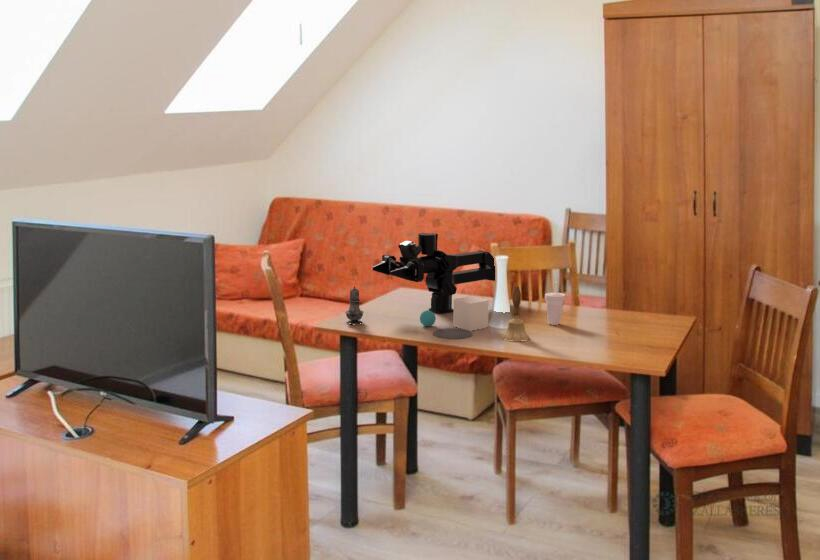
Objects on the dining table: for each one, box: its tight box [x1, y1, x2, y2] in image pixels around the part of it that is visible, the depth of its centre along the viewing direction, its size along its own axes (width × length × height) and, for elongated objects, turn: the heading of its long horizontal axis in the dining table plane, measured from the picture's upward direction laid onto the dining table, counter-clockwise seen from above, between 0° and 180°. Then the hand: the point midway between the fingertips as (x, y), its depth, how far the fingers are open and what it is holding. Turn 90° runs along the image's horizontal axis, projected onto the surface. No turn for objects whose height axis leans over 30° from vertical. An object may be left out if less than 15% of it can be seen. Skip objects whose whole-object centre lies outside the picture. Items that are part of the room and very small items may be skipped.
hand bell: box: [501, 285, 530, 342], centre depth 291 cm, size 8×8×16 cm
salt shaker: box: [344, 285, 365, 325], centre depth 307 cm, size 6×6×12 cm
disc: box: [432, 327, 474, 340], centre depth 296 cm, size 12×12×1 cm
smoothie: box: [544, 280, 566, 326], centre depth 308 cm, size 6×6×14 cm
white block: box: [452, 295, 490, 332], centre depth 304 cm, size 8×8×9 cm
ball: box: [419, 309, 437, 327], centre depth 305 cm, size 5×5×5 cm
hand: (381, 270), depth 307 cm, fingers open, 9 cm apart
